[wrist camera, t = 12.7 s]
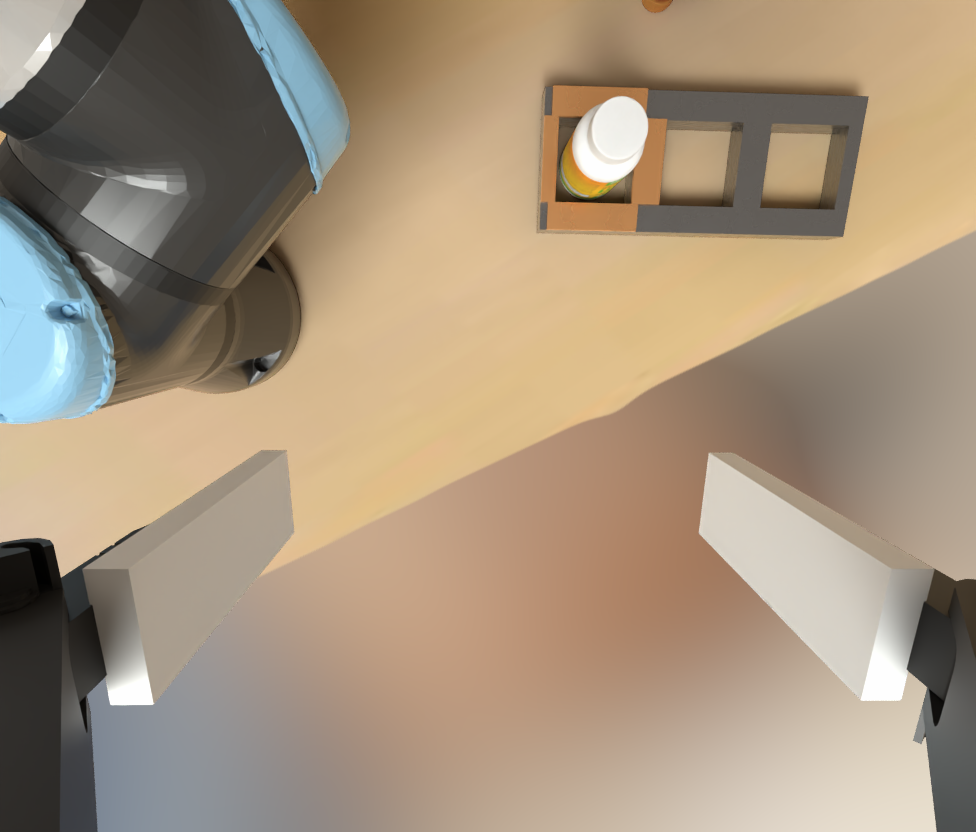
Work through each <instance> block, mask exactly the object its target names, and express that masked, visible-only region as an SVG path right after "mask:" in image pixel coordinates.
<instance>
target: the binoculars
mask: <svg viewBox="0 0 976 832" xmlns="http://www.w3.org/2000/svg"><path fill="white" fill-rule="evenodd" d="M672 1H673V0H642V3H643V5H644V7H645V8H646V9H647V10H648V11H650V12H654V13H656V12H661V11H663V10H665V9H666V8H667V7H668V6H669V5H670V3H671V2H672Z"/></svg>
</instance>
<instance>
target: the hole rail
mask: <svg viewBox="0 0 976 832" xmlns="http://www.w3.org/2000/svg"><path fill="white" fill-rule="evenodd" d="M617 96H626V97H630V98H632V99H634V100H636V101H637V102H638V103H639V104H640V105H641V106H642V107H643V109H644V110H645V112H646V115H647V119H648V133H647V137H646V140H645V145H644V150H643V153H642V156H641V158H640V160H639V162H638V163H637V165H636V166H635V167H634V169H633V170H632V171H631V172H630V173H629V174H628V175H626V183H625V195H624V204H616V203H577V202H555V192H556V172H557V151H558V130H559V126H563V127H577V125H578V123H579V122H580V120H581V119H582V117H583V116H584V115H585V114H586V113H587V112H588V111H589V110H590V109H592V108H593V107H595V106H596V105H599V104H601V103H604V102H605V101H607V100H609V99H611V98H613V97H617ZM867 103H868V97H866V96H833V95H800V94H768V93H735V92H702V91H669V90H648V88H627V87H594V86H561V85H553V87H545V90H544V93H543V97H542V117H541V141H540V166H539V190H538V215H537V233H557V234H599V235H642V236H684V237H726V238H769V239H811V240H829V239H834V238H839V237H843V234H844V229H845V223H846V218H847V212H848V207H849V201H850V196H851V190H852V185H853V179H854V174H855V168H856V163H857V157H858V152H859V146H860V141H861V135H862V130H863V124H864V119H865V113H866V108H867ZM666 129H668V130H703V131H731V138H730V146H729V154H728V162H727V170H726V178H725V186H724V194H723V202H722V207H706V206H666V205H659V200H660V189H661V179H662V169H663V158H664V148H665V137H666ZM771 132H773V133H808V134H832V136H831V142H830V148H829V153H828V159H827V165H826V171H825V177H824V183H823V189H822V195H821V201H820V207H819V209H785V208H760V205H761V198H762V190H763V183H764V176H765V169H766V162H767V155H768V148H769V141H770V134H771Z"/></svg>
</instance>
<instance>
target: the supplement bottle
mask: <svg viewBox="0 0 976 832" xmlns="http://www.w3.org/2000/svg"><path fill="white" fill-rule="evenodd" d="M647 133H648V119H647V115H646V112H645V110H644V109H643V107H642V106H641V105H640V104H639V103H638V102H637V101H636V100H634V99H632V98H630V97H626V96H617V97H613V98H611V99H609V100H607V101H605V102H604V103H601V104H599V105H596V106H595V107H593V108H592V109H590V110H589V111H588V112H587V113H586V114H585V115H584V116H583V117H582V119H581V120H580V122H579V123H578V125H577V127H576V128H575V130H574V132H573V134H572V136H571V138H570V140H569V141H568V143H567V145H566V147H565V149H564V151H563V153H562V155H561V158H560V163H559V174H560V179H561V182H562V184H563V186H564V187H565V189H566V190H567V191H568V192H569V193H570V194H571V195H573V196H574V197H576V198H579V199H582V200H593V199H597V198H599V197H601V196H603V195H605V194H606V193H607V192H609V191H610V190H611V189H612V188H613V187H614V186H615V185H616V184H617V183H619V182H620V181H621V180H622V179H623V178H624V177H625V176H626V175H628V174H629V173H630V172H631V171H632V170H633V169H634V167H635V166H636V165H637V163H638V162H639V160H640V158H641V156H642V153H643V150H644V145H645V140H646V137H647Z"/></svg>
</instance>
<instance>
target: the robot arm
mask: <svg viewBox="0 0 976 832" xmlns="http://www.w3.org/2000/svg"><path fill="white" fill-rule="evenodd" d="M0 130H1V131H2V132H4V133H6V134H7V135H6V137H5V139H4V140H3V142H2V143H1V145H0V423H11V424H28V423H38V422H43V421H49V420H56V419H62V418H67V419H71V418H78V417H82V416H85V415H87V414H92V412H93V411H97V410H98V409H101V408H105V407H108V406H112V405H115V404H119V403H123V402H126V401H130V400H134V399H137V398H141V397H144V396H148V395H152V394H155V393H159V392H163V391H166V390H170V389H174V388H177V387H180V388H184V389H189V390H193V391H198V392H203V393H213V394H219V393H231V392H237V391H240V390H244V389H247V388H249V387H252V386H255V385H258V384H260V383H262V382H264V381H266V380H267V379H269V378H271V377H272V376H273V375H275V374H276V373H277V372H278V371H279V370H280V369H281V368H282V367H283V366H284V365H285V363H286V362H287V361H288V359H289V358H290V356H291V354H292V352H293V350H294V348H295V345H296V343H297V339H298V336H299V331H300V319H301V318H300V305H299V300H298V296H297V292H296V289H295V286H294V284H293V282H292V280H291V278H290V276H289V274H288V272H287V270H286V269H285V267H284V266H283V264H282V263H281V262H280V260H279V259H278V258H277V257H276V256H275V255H274V254H273V253H272V252H271V251H270V250H269V249H268V248H269V247H270V245H271V244H272V243H273V242H274V240H275V239H276V238H277V237H278V235H279V234H280V233H281V232H282V230H283V229H284V228H285V227H286V225H287V224H288V223H289V222H290V220H291V219H292V218H293V217H294V215H295V214H296V213H297V212H298V210H299V209H300V208H301V207H302V205H303V204H304V203H305V202H306V200H307V199H308V198H309V197H310V195H311V194H312V193H313V194H317V193H318V192H319V191H320V189H321V188H322V183H323V179H324V178H325V176H326V175H327V173H328V172H329V171H330V169H331V168H332V167H333V165H334V164H335V162H336V161H337V160H338V158H339V157H340V155H341V154H342V153H343V151H344V150H345V148H346V146H347V144H348V141H349V138H350V120H349V116H348V111H347V108H346V105H345V102H344V100H343V98H342V96H341V94H340V91H339V89H338V87H337V85H336V84H335V82H334V80H333V78H332V76H331V75H330V73H329V71H328V70H327V68H326V66H325V65H324V63H323V61H322V60H321V58H320V56H319V55H318V53H317V52H316V50H315V49H314V47H313V46H312V44H311V42H310V41H309V39H308V38H307V36H306V35H305V33H304V32H303V31H302V29H301V28H300V26H299V25H298V23H297V22H296V20H295V19H294V18H293V16H292V15H291V13H290V12H289V10H288V9H287V8H286V6H285V5H284V3H283V2H282V1H281V0H0ZM293 533H294V525H293V514H292V503H291V492H290V481H289V470H288V459H287V450H261V451H260V452H258V453H257V454H255V455H254V456H252V457H251V458H249V459H248V460H246V461H245V462H243V463H242V464H240V465H239V466H237V467H236V468H234V469H233V470H231V471H230V472H228V473H227V474H225V475H224V476H222V477H221V478H219V479H217V480H216V481H214V482H213V483H211V484H210V485H208V486H207V487H205V488H204V489H202V490H201V491H199V492H198V493H196V494H195V495H193V496H192V497H190V498H189V499H187V500H186V501H184V502H183V503H181V504H180V505H178V506H177V507H175V508H174V509H172V510H171V511H169V512H168V513H166V514H165V515H163V516H162V517H160V518H159V519H157V520H155V521H154V522H152V523H151V524H149V525H147V526H144V527H142V528H139V529H137V530H135V531H132V532H131V533H129V534H128V535H126V536H125V537H123V538H122V539H120V540H119V541H117V542H116V543H115V545H111V546H109V547H108V548H106V549H105V550H103V551H102V552H100V553H99V556H94V557H92V558H91V559H89V560H88V561H86V562H85V563H83V564H82V565H80V566H79V567H77V568H76V569H74V570H72V571H71V572H69V573H68V574H66V575H65V576H63V577H62V578H61V577H60V572H59V568H58V563H57V559H56V554H55V550H54V545H53V544H52V542H51V541H50V540H46V539H41V538H33V539H20V540H14V541H8V542H2V543H0V832H97V813H96V797H95V779H94V762H93V745H92V728H91V711H90V708H89V703H88V698H87V694H88V693H89V692H90V691H91V690H92V689H93V688H94V687H95V686H96V685H97V684H98V683H99V682H100V681H101V680H103V678H105V680H106V684H107V689H108V694H109V699H110V704H111V705H154V703H155V702H156V701H157V700H158V699H159V697H160V696H161V695H162V694H163V692H164V691H165V690H166V689H167V688H168V686H169V685H170V684H171V683H172V681H173V680H174V679H175V678H176V677H177V675H178V674H179V673H180V672H181V670H182V669H183V668H184V667H185V666H186V664H187V663H188V662H189V661H190V659H191V658H192V657H193V655H195V653H196V652H197V650H199V648H200V647H201V646H202V645H203V644H204V642H205V641H206V640H207V639H208V637H209V636H210V635H211V634H212V632H213V631H214V630H215V629H216V628H217V626H218V625H219V624H220V623H221V621H222V620H223V619H224V618H225V617H226V615H227V614H228V613H229V612H230V610H231V609H232V608H233V607H234V606H235V604H236V603H237V602H238V601H239V599H240V598H241V597H242V596H243V595H244V593H245V592H246V591H247V590H248V588H249V587H250V586H251V585H252V584H253V582H254V581H255V580H256V579H257V577H258V576H259V575H260V574H261V573H262V571H263V570H264V569H265V568H266V566H267V565H268V564H269V563H270V562H271V560H272V559H273V558H274V557H275V555H276V554H277V553H278V552H279V551H280V549H281V548H282V547H283V546H284V544H285V543H286V542H287V541H288V540H289V538H290V537H291V536H292V535H293ZM699 534H700V535H701V536H702V537H703V538H704V539H705V540H706V541H707V542H708V543H709V544H710V545H711V546H712V547H713V548H714V549H715V550H716V551H717V552H718V553H719V555H720V556H721V557H722V558H723V559H724V560H725V561H726V562H727V563H728V564H729V565H730V566H731V567H732V568H733V569H734V570H735V571H736V572H737V573H738V574H739V575H740V576H741V577H742V578H743V579H744V580H745V581H746V582H747V583H748V584H749V585H750V586H751V588H752V589H754V591H755V592H756V593H757V594H758V595H759V596H760V597H761V598H762V599H763V600H764V601H765V602H766V603H767V604H768V605H769V606H770V607H771V608H772V609H773V610H774V611H775V612H776V613H777V614H778V615H779V616H780V617H781V618H782V620H783V621H784V622H785V623H786V624H787V625H788V626H789V627H790V628H791V629H792V630H793V631H794V632H795V633H796V634H797V635H798V636H799V637H800V638H801V639H802V640H803V641H804V642H805V643H806V644H807V645H808V646H809V647H810V648H811V649H812V650H813V651H814V652H815V654H816V655H817V656H818V657H819V658H820V659H821V660H822V661H823V662H824V663H825V664H826V665H827V666H828V667H829V668H830V669H831V670H832V671H833V672H834V673H835V674H836V675H837V676H838V677H839V678H840V679H841V680H842V681H843V682H844V683H845V685H846V686H847V687H848V688H849V689H850V690H851V691H852V692H853V693H854V694H855V695H856V696H858V698H859V699H860V700H901V698H902V694H903V690H904V686H905V682H906V678H907V675H908V671H909V672H910V673H911V674H913V675H914V676H915V677H916V678H917V679H918V680H919V681H921V682H922V683H923V684H924V685H925V686H927V691H926V695H925V698H924V702H923V706H922V710H921V713H920V717H919V721H918V724H917V728H916V732H915V736H914V739H913V741H915V742H918V743H920V744H921V743H922V741H923V739H924V737H926V742H927V751H928V758H929V768H930V776H931V785H932V793H933V802H934V811H935V820H936V828H937V832H976V580H974V579H964V580H960V581H955V580H953V579H952V578H950V577H948V576H946V575H945V574H943V573H941V572H939V571H938V570H936V569H934V568H932V567H931V566H929V565H927V564H926V563H924V562H922V561H920V560H919V559H917V558H915V557H913V556H912V555H910V554H908V553H906V552H905V551H903V550H901V549H899V548H898V547H896V546H894V545H892V544H891V543H889V542H887V541H885V540H884V539H882V538H880V537H879V536H877V535H875V534H873V533H872V532H870V531H868V530H866V529H864V528H863V527H861V526H859V525H858V524H856V523H854V522H852V521H851V520H849V519H847V518H845V517H844V516H842V515H840V514H838V513H837V512H835V511H833V510H831V509H830V508H828V507H826V506H825V505H822V504H821V503H819V502H818V501H816V500H814V499H812V498H811V497H809V496H807V495H805V494H804V493H802V492H800V491H799V490H797V489H795V488H793V487H792V486H790V485H788V484H786V483H784V482H783V481H781V480H779V479H778V478H776V477H774V476H772V475H771V474H769V473H767V472H766V471H764V470H762V469H760V468H759V467H757V466H755V465H753V464H752V463H750V462H748V461H746V460H744V459H743V458H741V457H740V456H738V455H736V454H734V453H709V457H708V465H707V473H706V480H705V488H704V497H703V504H702V512H701V520H700V528H699Z"/></svg>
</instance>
